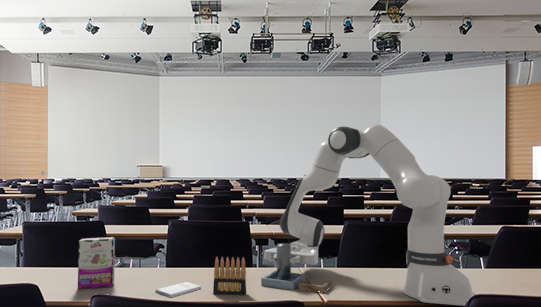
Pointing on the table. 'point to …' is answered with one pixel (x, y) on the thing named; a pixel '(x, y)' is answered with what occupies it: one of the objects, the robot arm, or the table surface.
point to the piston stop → (283, 261)
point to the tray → (282, 281)
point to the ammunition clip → (229, 278)
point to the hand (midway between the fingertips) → (282, 260)
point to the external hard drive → (178, 289)
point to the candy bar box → (96, 262)
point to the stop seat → (313, 286)
